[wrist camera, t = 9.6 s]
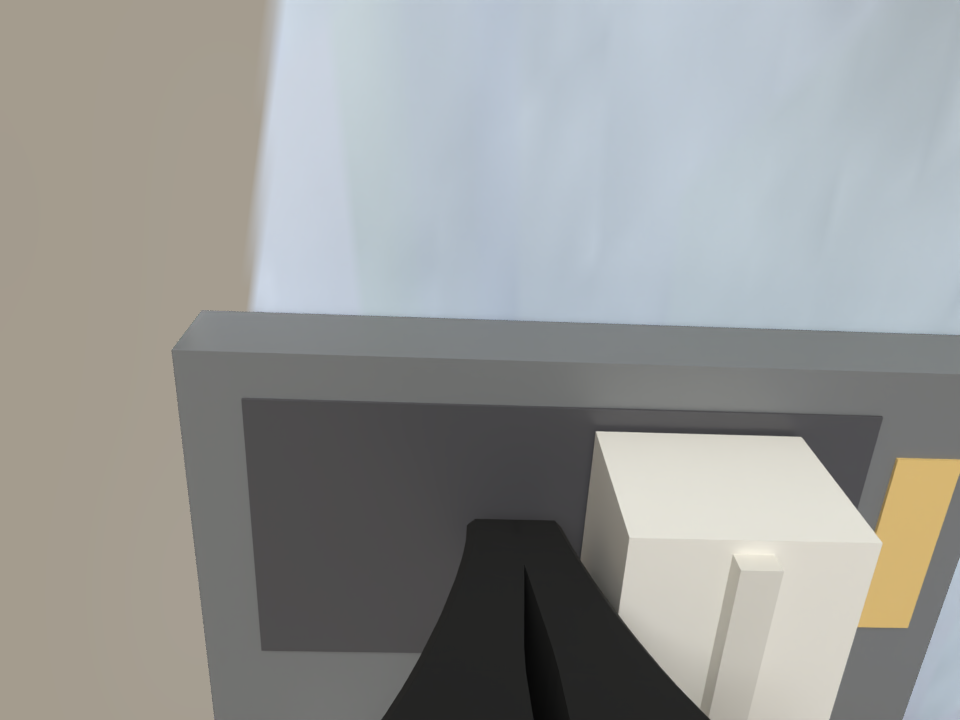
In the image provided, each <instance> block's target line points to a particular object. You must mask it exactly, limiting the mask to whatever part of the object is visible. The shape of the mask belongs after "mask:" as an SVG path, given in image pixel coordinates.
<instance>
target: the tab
mask: <svg viewBox="0 0 960 720" xmlns="http://www.w3.org/2000/svg"><path fill="white" fill-rule="evenodd" d="M882 544H883V543H882V542H881V540H880V539H879V538H878V536H877V535H876V534H875V532H874V531H873V530H872V528H871V527H870V526H869V525H868V523H867V522H866V521H865V519H864V518H863V517H862V515H861V514H860V513H859V511H858V510H857V509H856V508H855V506H854V505H853V504H852V502H851V501H850V500H849V498H848V497H847V496H846V494H845V493H844V492H843V491H842V489H841V488H840V487H839V485H838V484H837V483H836V481H835V480H834V479H833V477H832V476H831V475H830V474H829V472H828V471H827V470H826V468H825V467H824V466H823V464H822V463H821V462H820V460H819V459H818V458H817V457H816V455H815V454H814V453H813V451H812V450H811V449H810V447H809V446H808V445H807V443H806V442H805V441H804V440H803V438H802V437H789V436H752V435H715V434H678V433H641V432H603V431H596V434H595V442H594V450H593V459H592V467H591V475H590V484H589V492H588V500H587V509H586V517H585V526H584V534H583V542H582V551H581V559H580V560H581V562H582V563H583V565H584V566H585V568H586V569H587V571H588V572H589V574H590V575H591V577H592V578H593V580H594V581H595V583H596V584H597V586H598V587H599V589H600V590H601V591H602V593H603V594H604V596H605V597H606V598H607V600H608V601H609V602H610V604H611V605H612V607H613V608H614V609H615V611H616V612H617V613H618V615H619V616H620V617H621V619H622V620H623V621H624V623H625V624H626V625H627V627H628V628H629V629H630V631H631V632H632V633H633V634H634V636H635V637H636V638H637V639H638V641H639V642H640V643H641V644H642V646H643V647H644V648H645V649H646V650H647V651H648V653H649V654H650V655H651V656H652V657H653V659H654V660H655V661H656V662H657V663H658V665H659V666H660V667H661V668H662V669H663V670H664V671H665V673H666V674H667V675H668V676H669V677H670V678H671V679H672V680H673V681H674V683H675V684H676V685H677V686H678V687H679V688H680V689H681V690H682V691H683V692H684V693H685V694H686V695H687V696H688V697H689V698H690V699H691V700H692V701H693V703H694V704H695V705H696V706H697V707H698V708H699V709H700V710H701V711H702V712H703V713H704V714H705V715H706V716H707V717H708V718H709V719H710V720H829V719H830V716H831V712H832V709H833V706H834V702H835V699H836V696H837V693H838V689H839V686H840V683H841V679H842V676H843V673H844V669H845V666H846V663H847V660H848V656H849V653H850V650H851V646H852V643H853V640H854V636H855V633H856V630H857V626H858V623H859V620H860V617H861V613H862V610H863V607H864V603H865V600H866V597H867V593H868V590H869V587H870V584H871V580H872V577H873V574H874V570H875V567H876V564H877V560H878V557H879V554H880V551H881V547H882Z"/></svg>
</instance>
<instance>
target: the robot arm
mask: <svg viewBox="0 0 960 720" xmlns="http://www.w3.org/2000/svg"><path fill="white" fill-rule="evenodd" d="M381 720H710V719H709V718H708V717H707V716H706V715H705V714H704V713H703V712H702V711H701V710H700V709H699V708H698V707H697V706H696V705H695V704H694V703H693V701H692V700H691V699H690V698H689V697H688V696H687V695H686V694H685V693H684V692H683V691H682V690H681V689H680V688H679V687H678V686H677V685H676V684H675V683H674V681H673V680H672V679H671V678H670V677H669V676H668V675H667V674H666V673H665V671H664V670H663V669H662V668H661V667H660V666H659V665H658V663H657V662H656V661H655V660H654V659H653V657H652V656H651V655H650V654H649V653H648V651H647V650H646V649H645V648H644V647H643V646H642V644H641V643H640V642H639V641H638V639H637V638H636V637H635V636H634V634H633V633H632V632H631V631H630V629H629V628H628V627H627V625H626V624H625V623H624V621H623V620H622V619H621V617H620V616H619V615H618V613H617V612H616V611H615V609H614V608H613V607H612V605H611V604H610V602H609V601H608V600H607V598H606V597H605V596H604V594H603V593H602V591H601V590H600V589H599V587H598V586H597V584H596V583H595V581H594V580H593V578H592V577H591V575H590V574H589V572H588V571H587V569H586V568H585V566H584V565H583V563H582V562H581V560H580V558H579V557H578V555H577V554H576V552H575V550H574V549H573V547H572V545H571V544H570V542H569V540H568V538H567V537H566V535H565V533H564V531H563V530H562V528H561V527H560V526H559V524H558V523H557V522H556V521H555V520H511V519H474V520H473V521H472V522H470V523H469V524H468V525H467V529H466V542H465V547H464V552H463V555H462V559H461V562H460V566H459V569H458V572H457V575H456V578H455V581H454V583H453V586H452V588H451V591H450V593H449V596H448V598H447V601H446V603H445V606H444V608H443V610H442V613H441V615H440V617H439V619H438V622H437V624H436V626H435V628H434V630H433V631H432V633H431V635H430V637H429V639H428V641H427V643H426V645H425V647H424V649H423V651H422V653H421V655H420V657H419V659H418V661H417V663H416V665H415V666H414V668H413V670H412V672H411V673H410V675H409V677H408V679H407V680H406V682H405V684H404V685H403V687H402V689H401V690H400V692H399V693H398V695H397V696H396V698H395V700H394V701H393V703H392V704H391V706H390V707H389V709H388V711H387V712H386V714H385V715H384V716H383V718H382V719H381Z"/></svg>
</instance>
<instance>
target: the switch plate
mask: <svg viewBox="0 0 960 720" xmlns="http://www.w3.org/2000/svg"><path fill="white" fill-rule="evenodd" d="M172 357H173V366H174V375H175V382H176V392H177V401H178V409H179V418H180V426H181V434H182V444H183V452H184V460H185V469H186V478H187V486H188V495H189V504H190V512H191V521H192V529H193V538H194V547H195V555H196V564H197V572H198V580H199V590H200V598H201V607H202V615H203V624H204V633H205V641H206V650H207V658H208V667H209V675H210V683H211V693H212V701H213V710H214V719H215V720H381V719H382V718H383V716H384V715H385V714H386V712H387V711H388V709H389V707H390V706H391V704H392V703H393V701H394V700H395V698H396V696H397V695H398V693H399V692H400V690H401V689H402V687H403V685H404V684H405V682H406V680H407V679H408V677H409V675H410V673H411V672H412V670H413V668H414V666H415V665H416V663H417V661H418V659H419V657H420V655H421V653H422V651H423V649H424V647H425V645H426V643H427V641H428V639H429V637H430V635H431V633H432V631H433V630H434V628H435V626H436V624H437V622H438V619H439V617H440V615H441V613H442V610H443V608H444V606H445V603H446V601H447V598H448V596H449V593H450V591H451V588H452V586H453V583H454V581H455V578H456V575H457V572H458V569H459V566H460V562H461V559H462V555H463V552H464V547H465V542H466V529H467V525H468V524H469V523H470V522H472V521H473V520H474V519H511V520H555V521H556V522H557V523H558V524H559V526H560V527H561V528H562V530H563V531H564V533H565V535H566V537H567V538H568V540H569V542H570V544H571V545H572V547H573V549H574V550H575V552H576V554H577V555H578V557H579V558H580V559H581V551H582V542H583V534H584V526H585V517H586V509H587V500H588V492H589V484H590V475H591V467H592V459H593V450H594V442H595V434H596V431H603V432H641V433H678V434H715V435H752V436H789V437H802V438H803V440H804V441H805V442H806V443H807V445H808V446H809V447H810V449H811V450H812V451H813V453H814V454H815V455H816V457H817V458H818V459H819V460H820V462H821V463H822V464H823V466H824V467H825V468H826V470H827V471H828V472H829V474H830V475H831V476H832V477H833V479H834V480H835V481H836V483H837V484H838V485H839V487H840V488H841V489H842V491H843V492H844V493H845V494H846V496H847V497H848V498H849V500H850V501H851V502H852V504H853V505H854V506H855V508H856V509H857V510H858V511H859V513H860V514H861V515H862V517H863V518H864V519H865V521H866V522H867V523H868V525H869V526H870V527H871V528H872V530H873V531H874V532H875V534H876V535H877V536H878V538H879V539H880V540H881V542H882V543H883V544H882V547H881V551H880V554H879V557H878V560H877V564H876V567H875V570H874V574H873V577H872V580H871V584H870V587H869V590H868V593H867V597H866V600H865V603H864V607H863V610H862V613H861V617H860V620H859V623H858V626H857V630H856V633H855V636H854V640H853V643H852V646H851V650H850V653H849V656H848V660H847V663H846V666H845V669H844V673H843V676H842V679H841V683H840V686H839V689H838V693H837V696H836V699H835V702H834V706H833V709H832V712H831V716H830V719H829V720H902V719H903V716H904V713H905V711H906V708H907V705H908V702H909V699H910V696H911V694H912V691H913V688H914V685H915V682H916V679H917V677H918V674H919V671H920V668H921V665H922V662H923V659H924V657H925V654H926V651H927V648H928V645H929V642H930V640H931V637H932V634H933V631H934V628H935V625H936V623H937V620H938V617H939V614H940V611H941V608H942V606H943V603H944V600H945V597H946V594H947V591H948V589H949V586H950V583H951V580H952V577H953V574H954V572H955V569H956V566H957V563H958V560H959V557H960V335H932V334H902V333H872V332H841V331H811V330H781V329H751V328H720V327H690V326H660V325H629V324H599V323H569V322H539V321H508V320H478V319H448V318H417V317H387V316H357V315H327V314H296V313H266V312H235V311H204V310H202V311H201V312H200V314H199V315H198V316H197V317H196V319H195V320H194V321H193V323H192V324H191V325H190V327H189V328H188V329H187V331H186V332H185V333H184V335H183V336H182V337H181V338H180V340H179V341H178V342H177V344H176V345H175V346H174V348H173V349H172Z"/></svg>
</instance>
